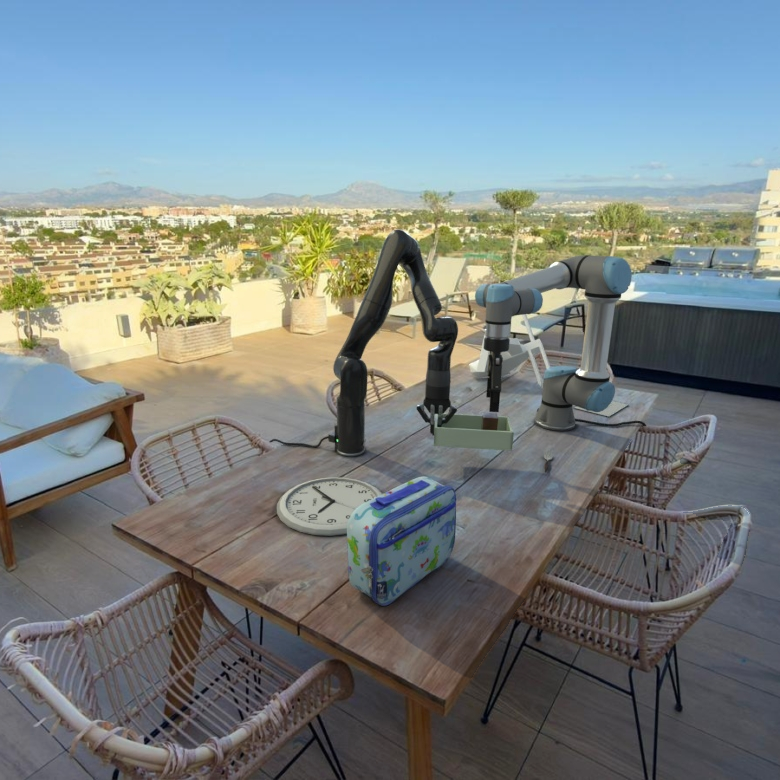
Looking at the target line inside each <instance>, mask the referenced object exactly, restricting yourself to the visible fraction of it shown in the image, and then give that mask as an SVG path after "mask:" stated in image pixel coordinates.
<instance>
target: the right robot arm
mask: <svg viewBox="0 0 780 780" xmlns="http://www.w3.org/2000/svg"><path fill="white" fill-rule="evenodd" d="M632 274H633V273H632V269H631V266H630V264H629V262H628V261H627V260H626V259H624V258H623V257H617V256H613V255H590V254H582V255H576V256H571V257H568V258H565V259H561V260H559V261H555V262H553V263H551V264H550V265H549V267H547V268H543V269H539V270H537V271H534V272H530V273H528V274H524V275H521V276H518V277H514V278H512V279H508V280H505V281H501V282H498V283H492V284H491V283H484V284H481V285H479V286H478V287H477V288H476V290H475V293H474V300H475V303H476V304H477V305H478V306H479V307H481V308H485V324H484V325H483V326H482V329H483V330H484V334H485V336H486V337H485V338H484V337H483V339H484V349H485V350H486V351H490V355H489V356H488V360H489V361H488V363H489V364H488V371H487V372H488V377H487V380H486V381H487V382H486V395H485V396H486V398H489V407H488V408H489V410H488V411H489V412H488V413H499V411H500V399H501V392H502V376H501V372H502V362H503V357H502V355H501V352H506V351H508V350H509V342H510V339H511V338H509V337H511V331H512V330H511V329H512V317H513V316H522V315H524V314H526V315H531V314H535V313H537V312H539V311H540V310H541V309H542V307H543V302H544V300H543V299H544V298H543V295H542V293H547V292H549V291H552V290H564V289H579V290H580V289H581V290H584V297H585V299H586V300H587V302H588V303H587V310H586V311H587V312H586V320H585V328H584V335H583V345H582V352H581V353H582V354H581V361H580V367H579V368H577V367H575V366H569V365H557V366H556V365H555V366H550V367H549V368H546V369H545V371H544V375H543V378H542V381H543V389H542V392H541V402H540V405H539V407H538V408H537V410H536V413H535V417H534V424H535V425H536V426H537V427H539V428H542V429H544V430H549V431H556V432H567V431H572V430H574V429H575V428H576V422H578V423H585V424H589V425H594V426H600V427H601V426H602V427H619V426H623V425H633V424H640V425H642V426H643V427H647V424H646V423H645V422H644V421H641V420H630V421H622V422H621V421H620V422H618V423H605V422H597V421H590V420H585V419H580V418H575V417H576V416H575V413H574V407H576V406H578V407H580V408H583V409H586V410H588V411H593V412H601V411H603V410H605V409H606V408H607V407H608V406H609V405H610V403H611V402H612V401H614V397H615V394H616V387H615V384H614V383H612V382H611V381H610V378H611V375H610V373H609V371H607V366H608V358H609V352H610V345H611V337H612V330H613V322H614V314H615V309H616V308H615V307H616V303H617V302H618V301H619V300H621V298H622V294H624V293H626V292H628V290H629V287H630V286H631V283H632V278H633V277H632ZM573 406H574V407H573ZM588 411H587V412H588Z"/></svg>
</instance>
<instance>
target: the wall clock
mask: <svg viewBox="0 0 780 780" xmlns="http://www.w3.org/2000/svg"><path fill="white" fill-rule="evenodd" d="M381 494H384V492H382V491H381V490H380V489H379V488H377V487H376V486H374V485H372V484H371V483H369V482H365V481H362V480H359V479H355V478H349V477H338V476H337V477H335V476H333V477H332V476H331V477H322V478H317V479H312V480H307V481H305V482H302V483H299V484H297V485H295V486H293V487H292V488H290V489H288V490H287V491H286V492H285V493H284V494H283V495H281V496H280V498H279V499H278V502H277V503H276V515H277V517H278V518H279V520H280V521H281V522H282V523H283V524H285V525H286V526H287V527H288V528H290V529H293V530H295V531H297V532H299V533H303V534H308V535H312V536H327V537H328V536H329V537H331V536H332V537H333V536H342V535H347V525H348V521H349V518H350V516H351V514H352V513H353V511H354V510H355V509H356V508H357V507H358V506H360V505H362V504H363V503H365V502H368V501H370V500H372V499H374V498H376V497H378V496H380V495H381Z"/></svg>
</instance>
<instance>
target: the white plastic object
mask: <svg viewBox="0 0 780 780" xmlns="http://www.w3.org/2000/svg"><path fill="white" fill-rule="evenodd" d="M521 316H522V319H523V323H524V326H525V328H526V331H527V334H528V337H529V340H530V341H529V342H527V343H525V344H524V343H521V342H520V341H519V338H518V337H515V338H509V339H510V342H509V350H508V351H506V352H501V355H502V357H503V362H502V372H501V377H504V376H507V375H510V374H511V371H513V370H514V369H516V368H517V367H519V366H520V365H522V364H523V363H524V362H526V361H527V360H530V363H531V366H532V369H533V371H534V374H535V377H536V378H535V379H536V380H537V383H538V386H539V387H540V388H541V389H542V390H543V378H542V375H541V372H540V370H539V366H538V364H537V360H536V358H535V355H538V354H540V353H541V356H542V359H543V363H544V365H545V368H546V369H547V368H549V367H551V363H550V361H549V359H548V355H547V353H546V350H545V348H544V344H543V341H541V338H536V339H535V336H534V333H533V330H532V328H531V325H530V321H529V317H528V314H524V315H521ZM485 337H486V336H485V333H484V334H483V339H482V344H481V349H480V353H479V358H478V359H477V360H475V361H472V362H470V363H469V364H468V366H469V370H470V373H471V375H472V376H473V378H475V379H478V378H489V377H488V372H487V371H488V364H489V363H488V361H489V360H488V356H489V355H490V351H486V350H485V349H484V338H485Z"/></svg>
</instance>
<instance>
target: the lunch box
mask: <svg viewBox="0 0 780 780" xmlns="http://www.w3.org/2000/svg"><path fill="white" fill-rule="evenodd" d="M456 524H457V494H456V490H455V488H454V487H453V486H451V485H444V484H441V483H440V482H438V481H436V480H434V479H432V478H431V477H428V476H422V475H421V476H419V477H416V478H413V479H411V480H408V481H407V482H404V483H402V484H400V485H398V486H396V487H394V488H392V489H390V490H388V491H386V492H383V494H381V495H380V496H378V497H376V498H374V499H372V500H370V501H368V502H365V503H363V504H362V505H360V506H358V507H357V508H356V509H355V510H354V511H353V513H352V514H351V516H350V518H349V521H348V525H347V534H346V545H347V546H346V548H347V570H348V572H347V573H348V581H349V583H350V585H351V587H353V588H354V589H356V590H358V591H361V592H362V593H364V594H365V595H366V596H368V597H369V598H371V599H372V601H373V602H374V603H375V604H378V605H379V606H383V607H386V606H388V605H390V604H392V603H394V601H396V600H397V599H398V598H399V597H400V596H402V595H403V594H404V593H406V592H407V591H408V590H410V589H411V588H413V587H414V586H415V585H417V584H418V583H419V582H421V580H422V579H424V577H426V576H427V575H430V573H432V572H434V571H435V570H436V569H438V568H440V567H441V566H442V565H444V563H446V562H447V561H448V559H449V558H450V556H451V554H452V552H453V549H454V546H455V542H456V529H457V525H456Z"/></svg>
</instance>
